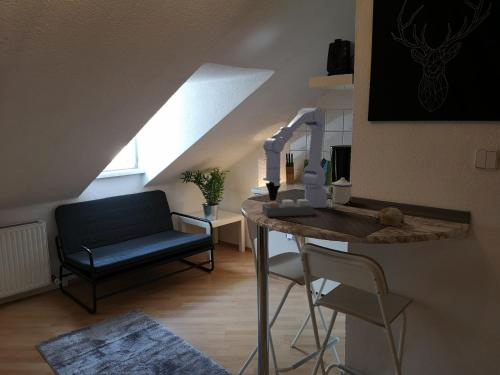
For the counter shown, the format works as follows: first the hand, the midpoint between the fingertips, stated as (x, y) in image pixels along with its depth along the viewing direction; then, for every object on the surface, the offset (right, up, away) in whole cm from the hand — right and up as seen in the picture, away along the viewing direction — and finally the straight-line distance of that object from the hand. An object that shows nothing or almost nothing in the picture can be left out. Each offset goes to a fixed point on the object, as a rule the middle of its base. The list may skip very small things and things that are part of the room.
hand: (272, 200), depth 171 cm
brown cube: (0, -4, +1) cm, 5 cm away
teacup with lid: (+33, -2, +27) cm, 43 cm away
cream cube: (+6, -4, +2) cm, 7 cm away
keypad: (+6, -6, +2) cm, 9 cm away
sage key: (+13, -3, +3) cm, 13 cm away
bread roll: (+44, -9, -12) cm, 47 cm away
